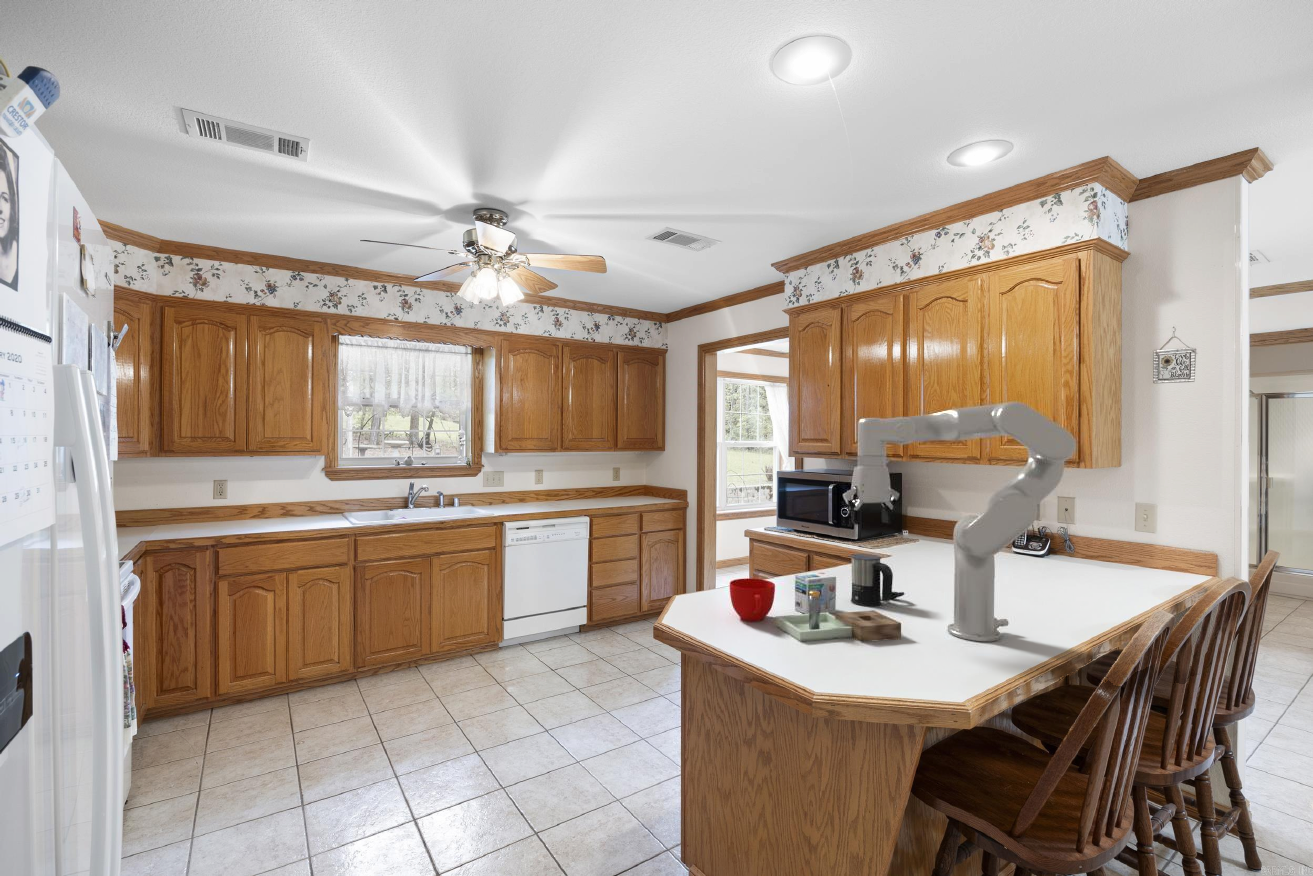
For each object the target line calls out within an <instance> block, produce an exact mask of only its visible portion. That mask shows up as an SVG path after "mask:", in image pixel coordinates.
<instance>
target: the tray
mask: <svg viewBox="0 0 1313 876" xmlns="http://www.w3.org/2000/svg"><path fill="white" fill-rule="evenodd" d="M774 619H775V621H774V622H775V623H774V624H775V627H777V628H778V629H780V630H781V629H782V631H783V632H784V631H785V633H786V634H787V633H788V635H789V634H790V635H791V636H790V635H789V636H790V637H792V638H793V637H794V639H795V640H796V639H797V640H796V641H798V642H799V641H800V643H803V642H804V641H805V642H813V641H814V640H816V641H825V640H824V639H827V640H834V639H833V638H838V639H846V638H845V637H849V638H852V627H850V626H849V627H847V626H848V625H845V624H843V623H842V622H841V624H840V622H839V621H838V620H837V619H835V615H833V614H831V613H827V612H826V613H820V629H815V630H810V629H809V614H803V613H801V614H791V615H790V614H789V615H777V616H775V618H774ZM836 622H837V623H838V622H839V623H838V624H837V623H836ZM835 623H836V624H837V625H836V624H835ZM841 625H842V627H841ZM843 625H845V626H843ZM837 626H838V627H837ZM805 642H804V643H805Z"/></svg>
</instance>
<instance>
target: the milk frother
mask: <svg viewBox="0 0 1313 876" xmlns="http://www.w3.org/2000/svg"><path fill="white" fill-rule="evenodd" d="M850 558H851V599H850V602H851V603H852V604H855V605H857V606H863V607H875V606H881V605H882V602H884V601H885V602H887V601H890V600H891V601H893V600H895V599H897V598H901V597H903V596H904V595H906V594H905V592H904V591H901V592H900V591H899V592H898V591H893V580H894V574H893V571H892V569H891V567H890V566H889V565H888V564H886V563H883V562H881V559H882V556H880V555H877V554H872V553H871V554H869V553H854V554H851V555H850ZM881 574H882V575H881ZM881 576H882V583H881ZM881 585H882V586H881Z"/></svg>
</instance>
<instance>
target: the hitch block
mask: <svg viewBox="0 0 1313 876" xmlns="http://www.w3.org/2000/svg"><path fill="white" fill-rule="evenodd" d="M834 616H835V619H837V620H838V621H839V622H840V624H841V622H842V623H843V624H845V625H848V626H847V627H849V626H850V627H852V637H853V639H854V638H855V639H854V640H856V639H857V640H856V641H858V640H859V641H868V642H873V641H872V640H879V641H884V640H883V639H890V640H898V639H897V638H900V639H902V623H901V622H900V621H897V620H895V619H893V618H891V617H890V616H887V615H886V614H885V615H884V614H882V613H880V612H879V611H876V610H874V609H873V610H871V609H870V610H861V611H860V610H859V611H849V612H848V611H846V612H834ZM839 622H838V623H839ZM836 623H837V622H836ZM836 623H835V624H836ZM838 623H837V624H838ZM837 624H836V625H837ZM845 625H843V626H845ZM837 627H838V626H837ZM841 627H842V625H841ZM852 637H851V638H852ZM859 641H858V642H859Z"/></svg>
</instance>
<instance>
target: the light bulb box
mask: <svg viewBox="0 0 1313 876" xmlns="http://www.w3.org/2000/svg"><path fill="white" fill-rule="evenodd" d="M794 580H795V581H794V610H795V611H797V612H799V613H801V614H803V613H804V614H809V591H819V592H820V613H826V612H832V613H836V608H837V606H836V605H837V604H836V603H837V602H836V601H837V600H836V599H837V597H836V596H837V593H836V592H837V576H835V575H832V574H829V573H827V572H823V571H821V572H813V573H812V572H809V573H803V574H795V575H794Z"/></svg>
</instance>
